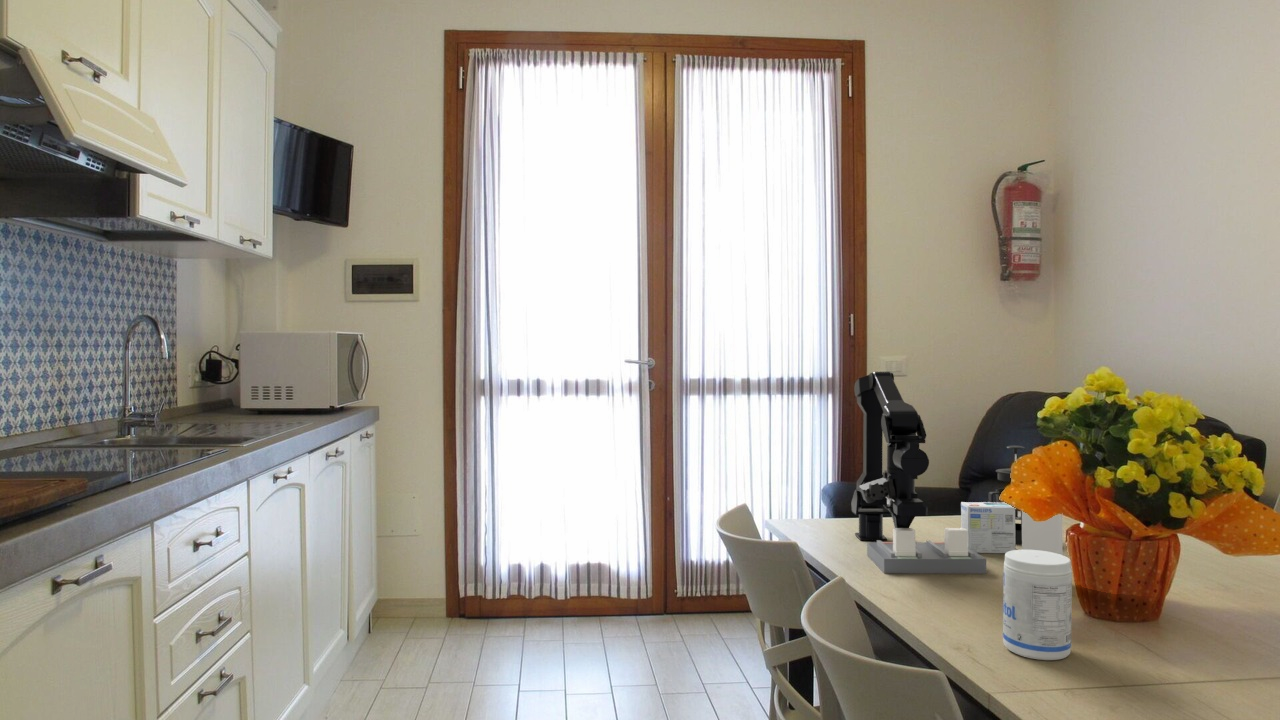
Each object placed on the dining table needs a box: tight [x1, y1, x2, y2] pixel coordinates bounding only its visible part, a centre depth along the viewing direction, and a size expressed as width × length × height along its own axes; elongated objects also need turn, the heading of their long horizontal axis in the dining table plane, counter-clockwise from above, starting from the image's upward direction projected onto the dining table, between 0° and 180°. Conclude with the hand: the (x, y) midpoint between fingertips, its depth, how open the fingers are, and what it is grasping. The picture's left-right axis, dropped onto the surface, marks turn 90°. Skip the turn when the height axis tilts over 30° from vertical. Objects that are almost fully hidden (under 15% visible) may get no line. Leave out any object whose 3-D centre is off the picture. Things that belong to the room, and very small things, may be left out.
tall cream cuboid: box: [944, 527, 968, 556], centre depth 176 cm, size 3×4×5 cm
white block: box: [892, 527, 916, 557], centre depth 176 cm, size 3×4×5 cm
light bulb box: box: [960, 501, 1016, 554], centre depth 193 cm, size 11×7×11 cm, turn 84°
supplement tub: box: [1002, 549, 1073, 661], centre depth 128 cm, size 10×10×15 cm
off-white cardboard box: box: [1021, 511, 1063, 555], centre depth 165 cm, size 7×7×19 cm
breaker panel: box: [866, 539, 987, 575], centre depth 181 cm, size 15×21×4 cm
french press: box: [988, 445, 1026, 546], centre depth 202 cm, size 12×9×23 cm
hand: (900, 539), depth 179 cm, fingers closed
